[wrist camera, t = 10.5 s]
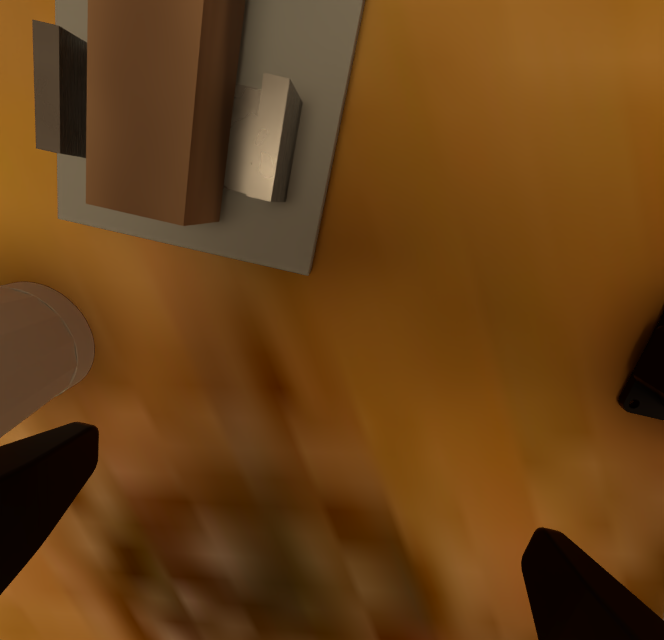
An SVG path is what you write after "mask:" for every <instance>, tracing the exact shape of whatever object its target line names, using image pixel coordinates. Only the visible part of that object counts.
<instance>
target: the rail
mask: <svg viewBox="0 0 664 640" xmlns="http://www.w3.org/2000/svg"><path fill="white" fill-rule="evenodd" d="M245 1H246V0H88V20H87V119H86V204H89V205H94V206H98V207H102V208H107V209H111V210H115V211H120V212H124V213H128V214H133V215H137V216H142V217H146V218H150V219H155V220H159V221H163V222H168V223H172V224H177V225H181V226H188V225H196V224H205V223H213V222H219V220H220V211H221V203H222V195H223V186H224V178H225V169H226V161H227V152H228V144H229V136H230V127H231V119H232V110H233V102H234V94H235V85H236V77H237V68H238V60H239V52H240V43H241V35H242V26H243V18H244V10H245Z"/></svg>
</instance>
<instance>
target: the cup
mask: <svg viewBox="0 0 664 640" xmlns="http://www.w3.org/2000/svg"><path fill="white" fill-rule="evenodd" d="M93 359H94V341H93V336H92V333H91V330H90V328H89V325H88V323H87V321H86V320H85V318H84V316H83V315H82V314H81V312H80V311H79V310H78V309H77V307H76V306H75V305H74V304H73V303H72V302H71V301H70V300H68V299H67V298H66V297H65V296H63V295H62V294H60V293H59V292H57V291H55V290H53V289H51V288H49V287H47V286H44V285H41V284H37V283H32V282H16V283H11V284H6V285H2V286H0V438H1V437H2V436H3V435H5V434H6V433H7V432H9V431H10V430H11V429H13V428H14V427H15V426H17V425H18V424H19V423H21V422H22V421H23V420H25V419H26V418H27V417H29V416H30V415H31V414H33V413H34V412H35V411H37V410H38V409H39V408H41V407H42V406H43V405H45V404H46V403H47V402H49V401H50V400H51V399H52V398H54V397H56V396H58V395H59V394H61V393H63V392H64V391H66V390H67V389H69V388H71V387H72V386H74V385H75V384H77V383H78V382H80V381H81V380H82V379H83V378H84V377H85V376H86V375H87V373H88V372H89V370H90V368H91V366H92V363H93Z"/></svg>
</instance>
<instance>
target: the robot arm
mask: <svg viewBox="0 0 664 640" xmlns="http://www.w3.org/2000/svg"><path fill="white" fill-rule="evenodd" d="M632 400H634V401H633V402H632V403H631V404H629V403H630V401H632ZM618 403H619V405H620V406H621V407H622V408H623V409H624V410H626V411H627V412H630V413H634V414H638V415H643V416H647V417H652V418H656V419H660V420H664V312H663V314H662V316H661V318H660V320H659V322H658V324H657V326H656V328H655V330H654V332H653V333H652V335H651V337H650V339H649V341H648V343H647V345H646V347H645V349H644V351H643V353H642V355H641V357H640V359H639V360H638V362H637V364H636V366H635V368H634V370H633V372H632V374H631V376H630V378H629V380H628V382H627V384H626V386H625V388H624V389H623V391H622V393H621V395H620V397H619V400H618ZM98 442H99V431H98V428H97V427H96V426H94V425H90V424H86V423H81V422H73V423H70V424H67V425H64V426H61V427H58V428H55V429H52V430H48V431H45V432H42V433H39V434H36V435H33V436H30V437H27V438H24V439H21V440H18V441H15V442H12V443H9V444H6V445H3V446H0V595H1V594H2V592H3V591H4V590H5V589H6V588H7V586H8V585H9V584H10V583H11V582H12V580H13V579H14V578H15V577H16V576H17V575H18V573H19V572H20V571H21V570H22V569H23V567H24V566H25V565H26V564H27V563H28V561H29V560H30V559H31V558H32V557H33V555H34V554H35V553H36V552H37V550H38V549H39V548H40V547H41V545H42V544H43V543H44V541H45V540H46V538H47V537H48V536H49V534H50V533H51V532H52V530H53V529H54V527H55V526H56V524H57V523H58V522H59V520H60V519H61V517H62V516H63V515H64V513H65V512H66V510H67V509H68V507H69V506H70V505H71V503H72V502H73V500H74V499H75V497H76V496H77V495H78V493H79V492H80V490H81V489H82V487H83V486H84V485H85V483H86V482H87V480H88V479H89V477H90V476H91V475H92V473H93V472H94V470H95V468H96V465H97V462H98ZM521 567H522V573H523V577H524V581H525V585H526V590H527V594H528V598H529V602H530V606H531V610H532V615H533V619H534V623H535V627H536V631H537V635H538V639H539V640H664V620H662V619H661V618H660V617H659V616H658V615H657V614H655V613H654V612H653V611H652V610H651V609H650V608H649V607H647V606H646V605H645V604H644V603H643V602H642V601H640V600H639V599H638V598H637V597H636V596H635V595H634V594H632V593H631V592H630V591H629V590H628V589H627V588H625V587H624V586H623V585H622V584H621V583H620V582H619V581H617V580H616V579H615V578H614V577H613V576H612V575H610V574H609V573H608V572H607V571H606V570H605V569H603V568H602V567H601V566H600V565H599V564H598V563H597V562H595V561H594V560H593V559H592V558H591V557H590V556H588V555H587V554H586V553H585V552H584V551H583V550H582V549H580V548H579V547H578V546H577V545H576V544H575V543H573V542H572V541H571V540H570V539H569V538H568V537H567V536H565V535H564V534H563V533H561V532H559V531H556V530H552V529H548V528H543V527H541V528H538V529H536V530H535V532H534V534H533V536H532V538H531V540H530V542H529V544H528V546H527V548H526V550H525V552H524V554H523V556H522V561H521Z"/></svg>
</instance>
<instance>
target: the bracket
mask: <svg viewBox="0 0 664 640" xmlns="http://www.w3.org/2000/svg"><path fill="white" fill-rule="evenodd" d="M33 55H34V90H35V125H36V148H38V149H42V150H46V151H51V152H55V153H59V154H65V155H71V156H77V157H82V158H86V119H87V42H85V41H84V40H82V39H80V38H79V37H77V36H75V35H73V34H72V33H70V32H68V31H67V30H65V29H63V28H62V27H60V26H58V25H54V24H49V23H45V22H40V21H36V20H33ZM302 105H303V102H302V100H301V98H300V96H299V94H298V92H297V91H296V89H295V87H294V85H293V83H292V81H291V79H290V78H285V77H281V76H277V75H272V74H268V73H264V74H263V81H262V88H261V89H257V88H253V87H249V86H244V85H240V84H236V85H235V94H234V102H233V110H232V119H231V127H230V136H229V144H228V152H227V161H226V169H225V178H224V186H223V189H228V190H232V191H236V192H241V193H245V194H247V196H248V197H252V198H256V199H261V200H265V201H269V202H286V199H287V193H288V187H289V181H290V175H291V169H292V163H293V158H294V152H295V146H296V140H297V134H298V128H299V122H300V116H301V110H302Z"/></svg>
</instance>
